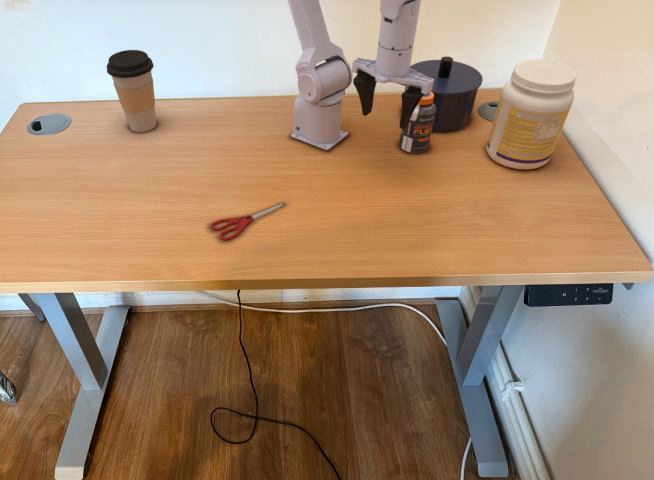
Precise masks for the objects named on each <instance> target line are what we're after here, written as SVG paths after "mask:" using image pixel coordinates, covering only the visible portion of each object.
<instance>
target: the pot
mask: <svg viewBox="0 0 654 480" xmlns="http://www.w3.org/2000/svg"><path fill="white" fill-rule="evenodd" d="M408 89H409V87H407V86H404V92H405V91H406V90H408ZM478 90H479V88H478V89H477V90H475V91H473V92H470V93H467V94H462V95H437V94H434V99H433V103H434V104H435V106H436V114H435V119H434V123H433V128H432V132H431V133H441V134H443V133H453V132H457V131H459V130H462V129H463V128H465V127H466V126H468V125H469V123H470V121H471V117H472V114H473V110H474V106H475V102H476V99H477V94H478Z"/></svg>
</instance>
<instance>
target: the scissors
mask: <svg viewBox="0 0 654 480" xmlns="http://www.w3.org/2000/svg"><path fill="white" fill-rule="evenodd" d="M281 207H283V203H282V204H281V203H280V204H278V205H275V206H272V207H270V208H268V209H265V210H263V211H261V212H258V213H256V214H253V215H246V216H238V217H231V218H230V217H229V218H223V219H219V220H215V221H214V222H212V223H211V224H210V229H211V230H212V231H213V232H220V231H221V232H220V234H219V238H220V240H221V241H222V242H229V241H231V240H233V239H235V238H237V237H238V236H240V235H241V233H242V232H244V230H245V229H246V228H247V227H248V226H249V225H250V224H251V223H252V222H254V220H255V219H259V218H260V217H262V216H265V215H266V214H269V213H270V212H272V211H274V210H277V209H279V208H281ZM223 223H226V224H224V225H222V226H220V227H215V226H217V225H219V224H223ZM231 226H233V227H231ZM229 227H231V228H229ZM227 228H228V229H227ZM222 230H223V231H222ZM234 231H236V232H235V233H233V234H232V235H230V236H228V237H225V236H224V235H227V234H229V233H232V232H234Z"/></svg>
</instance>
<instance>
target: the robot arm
mask: <svg viewBox="0 0 654 480" xmlns="http://www.w3.org/2000/svg"><path fill="white" fill-rule="evenodd" d="M379 3H380V5H379V12H380V22H379V23H380V25H379V32H378V42H377V48H376V49H377V50H376V57H375V59H368V58H362V57H357V58H356V59H354V60H353V61H352V63H351V64H350V63H349V62H348V60H347V59H346V57H345V54H344V50H343V48H341V47H340V46H339V45H337V44H335V43H333V42H332V41H331V39H330V35H329V32H328V27H327V25H326V20H325V17H324V13H323V10H322V6H321V4H320V0H287V4H288V7H289V9H290V13H291V16H292V20H293V23H294V26H295V30H296V32H297V37H298V40H299V44H300V47H301V49H302V53H301V55H300V57H299V59H298V60H297V62H296V64H295V71H296V75H297V86H298V87H297V88H298V92H299V93H298V94H297V96H296V98H295V100H294V104H293V121H292V122H293V123H292V124H293V127H292V128H293V132H292V133H291V135H290V136H291V138H293V139H296V140H298V141H300V142H303V143H306V144H308V145H311V146H313V147H316V148H319V149H322V150H324V151H330V150H331V149H332V148H333V147H335V146H336V145H337V144H339V142H341V141H342V140H343V139H345V138H346V137H348V135H349V132H348V131H346V130H343V129H341V124H342V111H343V97H344V96H345V95H346V89H348V88H349V87H350V86H351V85H352V84H353V86H354V88H355V89H356V92H357V94H358V97H359V101H360V106H361V113H362V116H363V117H367V116H368V115H369V114H370V113H372V110H373V107H374V98H375V97H374V96H375V92H376V87H377V83H379V84H380V83H381V84H388V83H392V84H397V85H401V86H404V87H405V86H407V87H409V89H408V90H406V91H405V90H404V92H402V94H401V95H400V96H401V97H400V98H401V114H400V119H399V129H404V128H405V127H406V126H407V125H408V124H409V121H410V118H411V116H412V114H413V112H414V110H415V108H416V106H417V105H418V103H419V101H420V100H421V99H422V97H423V96H424V94H428V93H429V92H430V91H431V90H432V87H433V82H434V79H432V78H429V77H427V76H425V75H423V74H421V73H419V72H417V71H415V70H413V69H411V68H410V66H411V65H412V64H411V63H412V58H413V51H414V47H415V46H414V45H415V40H416V39H415V38H416V33H417V27H418V21H419V15H420V9H421V3H422V0H379ZM323 61H325V62H323ZM320 62H322V63H320ZM353 73H354V74H356V75H355V77H354V78H353Z"/></svg>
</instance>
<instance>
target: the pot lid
mask: <svg viewBox="0 0 654 480" xmlns="http://www.w3.org/2000/svg"><path fill="white" fill-rule="evenodd" d="M410 68H411V69H413V70H415V71H417V72H419V73H421V74H423V75H425V76H427V77H429V78H432V79H434V82H433V87H432V90H431V92H432V93H433V94H437V95H462V94H467V93H470V92H473V91H475V90H477V89H478V90H479V89H480V88H481V85H482V84H483V79H484V78H483V75H482V74H481V72H480V71H478V70H477V69H476V68H474V66H471V65H468V64H466V63H464V62H460V61H457V60H454V58H453V57H451V56H442V57H441V58H440V59H428V60H422V61H419V62H416V63H413V64H411V65H410Z"/></svg>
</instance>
